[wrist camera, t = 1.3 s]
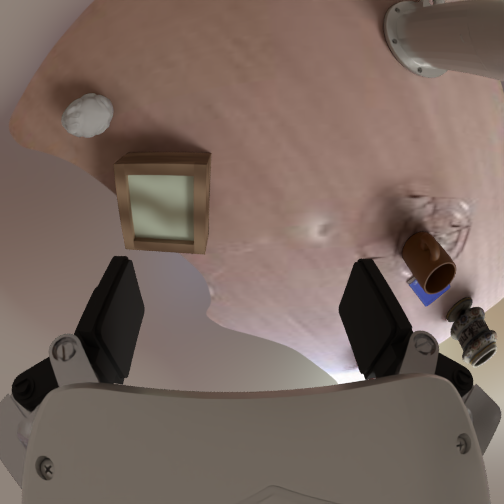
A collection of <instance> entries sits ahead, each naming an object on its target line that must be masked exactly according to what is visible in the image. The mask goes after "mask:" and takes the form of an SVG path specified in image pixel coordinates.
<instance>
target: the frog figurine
mask: <svg viewBox="0 0 504 504" xmlns="http://www.w3.org/2000/svg"><path fill="white" fill-rule="evenodd" d="M112 117H113V106H112V104H111V102H110V100H109V99H108V98H106V97H104V96H102V95H96V94H95V93H89V94H85V95H84V96H82V97H81V98H79V99H76V100H75V101H73V102H72V103H71V104H70V105H69V106H68V107H67V109H66V110H65V111H64V113H63V115H62V120H61V121H62V125H63V127H64V128H65V129H66V130H67V132H68V133H71V134H73V135H75V136H77V137H81V136H83V137H86V138H89V137H93V136H95V134H96V135H99V134H101V133H103V132H104V131H105V130H106V128H108V127H109V126H110V121H111V119H112Z"/></svg>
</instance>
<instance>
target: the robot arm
mask: <svg viewBox="0 0 504 504" xmlns="http://www.w3.org/2000/svg"><path fill="white" fill-rule="evenodd" d="M384 34H385V37H386V41H387V43H388V45H389V48H390V50H391V51H392V53H393V55H394V56H395V57H396V59H397V60H398V61H399V62H400V63H401V64H402V65H403V66H404V67H405V68H406V69H408V70H409V71H410V72H412V73H414V74H416V75H419V76H422V77H428V78H435V77H439V76H441V75H443V74H444V73H446V72H447V71H448V70H451V71H457V72H463V73H469V74H474V75H479V76H483V77H488V78H492V79H496V80H500V81H503V82H504V0H465V1H456V2H448V3H445V0H433V5H431V4H430V3H429V0H421V1H419V2H414V1H402V2H399V3H396V4H394V5H393V6H391V7H390V8H389V9H388V11H387V12H386V15H385V18H384ZM392 41H393V42H392ZM339 314H340V317H341V320H342V322H343V325H344V328H345V330H346V333H347V336H348V339H349V342H350V344H351V347H352V350H353V353H354V356H355V359H356V362H357V365H358V368H359V371H360V373H361V374H364V377H365V380H364V381H357V382H351V383H345V384H338V385H331V386H323V387H314V388H305V389H294V390H280V391H259V392H199V391H179V390H166V389H154V388H144V387H135V386H126V385H118V384H123V381H124V378H127V377H128V375H129V371H130V366H131V362H132V358H133V354H134V350H135V345H136V341H137V338H138V334H139V330H140V326H141V323H142V319H143V316H144V304H143V300H142V297H141V293H140V290H139V286H138V282H137V278H136V274H135V270H134V267H133V263H132V260H129V259H128V257H126V256H114V257H113V258H112V260H111V262H110V264H109V266H108V267H107V270H106V271H105V273H104V275H103V277H102V279H101V281H100V283H99V285H98V287H96V288H95V290H94V291H93V293H92V295H91V297H90V300H89V302H88V304H87V306H86V308H85V310H84V312H83V315H82V317H81V319H80V321H79V324H78V326H77V328H76V330H75V333H74V335H73V334H63V335H60V336H59V337H57V338H56V339H55V340H54V341H53V342H52V343H51V345H50V348H49V357H48V358H46V359H44V360H43V361H41V362H39V363H38V364H36V365H34V366H33V367H31V368H30V369H28V370H26V371H25V372H23V373H21V374H20V375H18V376H17V377H16V379H15V380H14V382H13V385H12V394H11V395H9V394H7V395H6V397H4V399H3V400H2V401H1V402H0V459H1V461H2V463H3V464H4V465H5V467H6V468H7V470H8V471H9V473H10V474H11V475H12V477H13V478H14V480H15V481H16V482H17V483H18V485H19V486H20V487H21V489H22V504H491V503H490V494H489V487H488V481H487V475H486V470H485V465H484V461H483V457H482V456H483V454H484V453H485V451H486V449H487V447H488V445H489V443H490V441H491V439H492V437H493V435H494V433H495V431H496V429H497V426H498V424H499V422H500V419H501V411H500V408H499V406H498V405H497V404H496V403H495V402H494V401H493V400H492V399H491V398H490V397H489V396H488V395H487V394H486V393H485V392H484V391H483V390H482V389H481V388H480V387H479V386H478V385H477V384H476V385H473V377H472V375H471V373H470V371H469V370H468V369H467V368H465V367H464V366H462V365H461V364H459V363H457V362H455V361H453V360H452V359H450V358H448V357H446V356H444V355H442V354H441V353H439V346H438V342H437V341H436V339H435V338H434V337H433V336H432V335H431V334H429V333H428V332H425V331H416V332H414V333H413V331H412V326H411V324H410V322H409V320H408V318H407V316H406V315H405V313H404V311H403V309H402V307H401V306H400V304H399V302H398V300H397V299H396V297H395V295H394V294H393V292H392V290H391V288H390V287H389V285H388V283H387V282H386V280H385V279H384V277H383V275H382V274H381V272H380V270H379V269H378V267H377V266H376V264H375V263H374V261H373V260H372V259H359V260H358V261H357V262H355V263H354V265H353V268H352V271H351V274H350V277H349V280H348V283H347V286H346V288H345V291H344V294H343V297H342V299H341V302H340V305H339ZM374 378H375V379H374ZM368 379H370V380H368ZM114 383H117V384H114Z"/></svg>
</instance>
